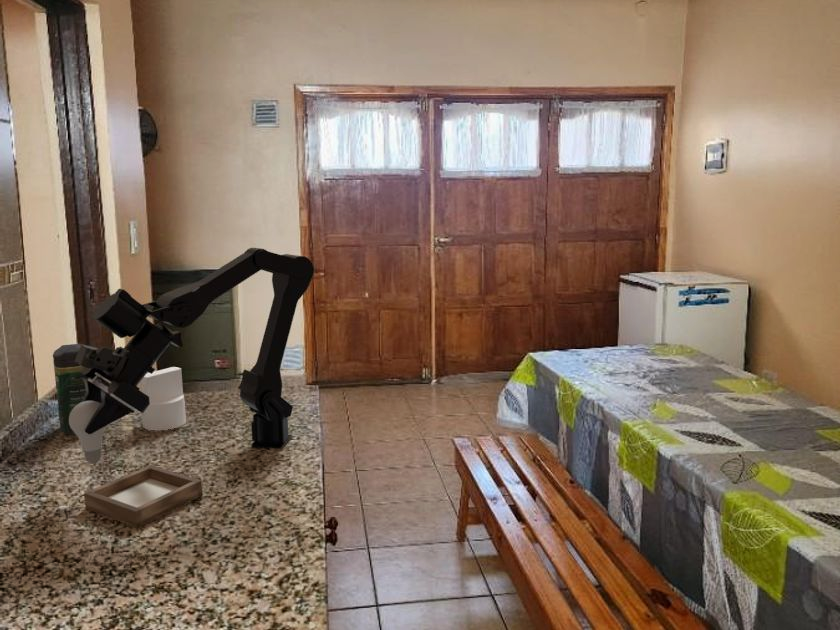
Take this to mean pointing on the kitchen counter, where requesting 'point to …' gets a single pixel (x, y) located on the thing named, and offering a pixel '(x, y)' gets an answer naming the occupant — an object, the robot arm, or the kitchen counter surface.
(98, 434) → the lightbulb
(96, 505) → the walnut tray
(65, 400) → the coffee jar
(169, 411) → the cylinder with rectangular tab
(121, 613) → the kitchen counter surface
